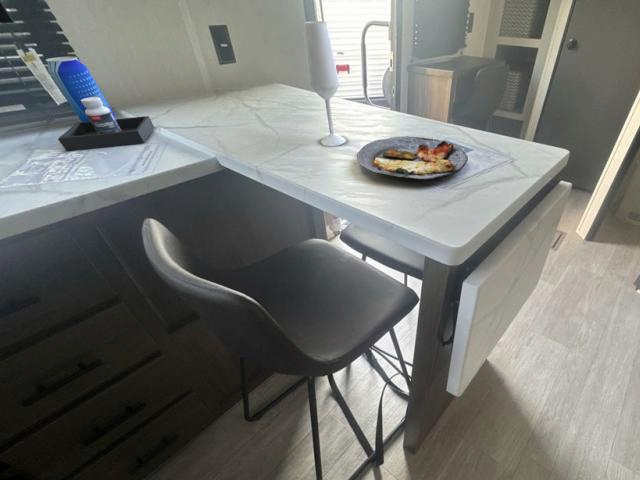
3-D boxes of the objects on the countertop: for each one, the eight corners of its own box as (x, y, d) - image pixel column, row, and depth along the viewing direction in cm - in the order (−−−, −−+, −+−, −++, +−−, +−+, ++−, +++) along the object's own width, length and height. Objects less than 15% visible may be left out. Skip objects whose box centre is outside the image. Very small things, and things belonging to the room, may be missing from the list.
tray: (66, 151, 80) (57, 138, 77) (85, 133, 89) (77, 122, 86) (144, 143, 83) (137, 130, 81) (154, 127, 92) (148, 115, 90)
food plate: (472, 151, 79) (474, 136, 76) (457, 194, 63) (459, 177, 61) (378, 141, 84) (378, 127, 81) (343, 178, 68) (341, 162, 66)
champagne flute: (324, 136, 87) (305, 20, 69) (348, 137, 86) (335, 20, 69) (317, 145, 82) (295, 23, 65) (342, 146, 81) (327, 23, 64)
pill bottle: (101, 141, 83) (77, 102, 77) (100, 135, 86) (76, 98, 80) (125, 137, 85) (102, 99, 79) (123, 131, 88) (101, 95, 82)
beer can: (105, 119, 98) (66, 55, 86) (125, 122, 96) (88, 56, 84) (78, 128, 92) (32, 60, 81) (99, 130, 90) (55, 62, 79)
